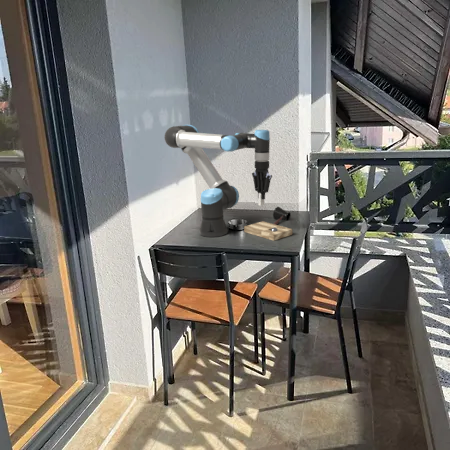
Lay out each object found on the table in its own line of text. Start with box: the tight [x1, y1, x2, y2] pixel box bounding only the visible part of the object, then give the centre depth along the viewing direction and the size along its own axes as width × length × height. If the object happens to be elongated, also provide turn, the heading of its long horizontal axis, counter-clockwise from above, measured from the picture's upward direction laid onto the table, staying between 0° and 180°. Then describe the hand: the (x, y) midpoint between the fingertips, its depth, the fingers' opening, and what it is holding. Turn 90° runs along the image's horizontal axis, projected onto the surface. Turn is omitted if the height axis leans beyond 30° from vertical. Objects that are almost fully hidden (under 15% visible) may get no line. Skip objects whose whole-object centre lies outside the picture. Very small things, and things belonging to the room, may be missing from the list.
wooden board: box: [243, 220, 293, 241], centre depth 233 cm, size 14×22×3 cm, turn 40°
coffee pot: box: [272, 206, 291, 225], centre depth 254 cm, size 8×18×8 cm
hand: (261, 204), depth 232 cm, fingers closed
